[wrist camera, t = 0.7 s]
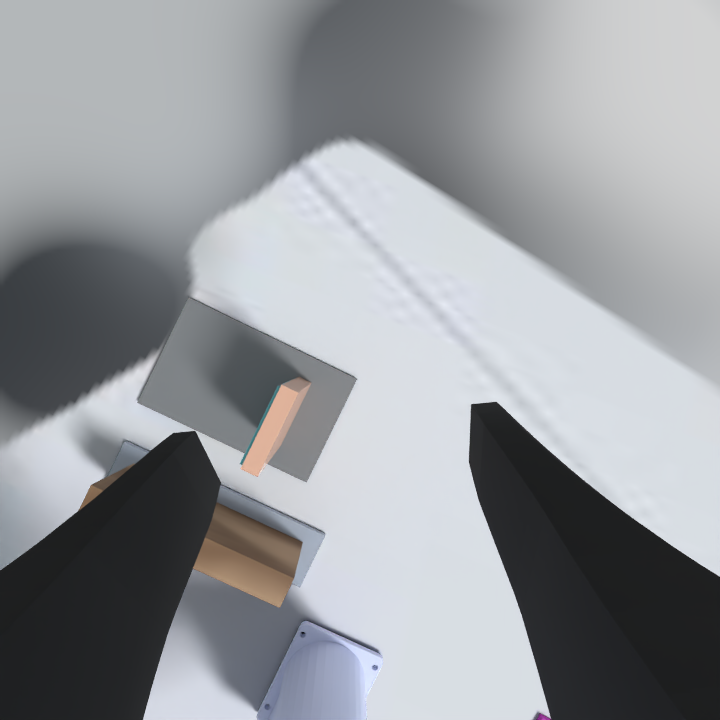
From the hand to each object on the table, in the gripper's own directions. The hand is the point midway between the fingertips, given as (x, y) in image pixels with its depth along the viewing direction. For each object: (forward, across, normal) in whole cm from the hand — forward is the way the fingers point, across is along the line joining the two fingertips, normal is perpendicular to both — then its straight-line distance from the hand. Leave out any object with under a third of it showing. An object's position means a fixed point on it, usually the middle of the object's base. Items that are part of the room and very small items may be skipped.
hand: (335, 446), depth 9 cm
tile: (+17, +7, +12) cm, 22 cm away
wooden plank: (+12, +15, +19) cm, 27 cm away
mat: (+18, +11, +10) cm, 23 cm away
